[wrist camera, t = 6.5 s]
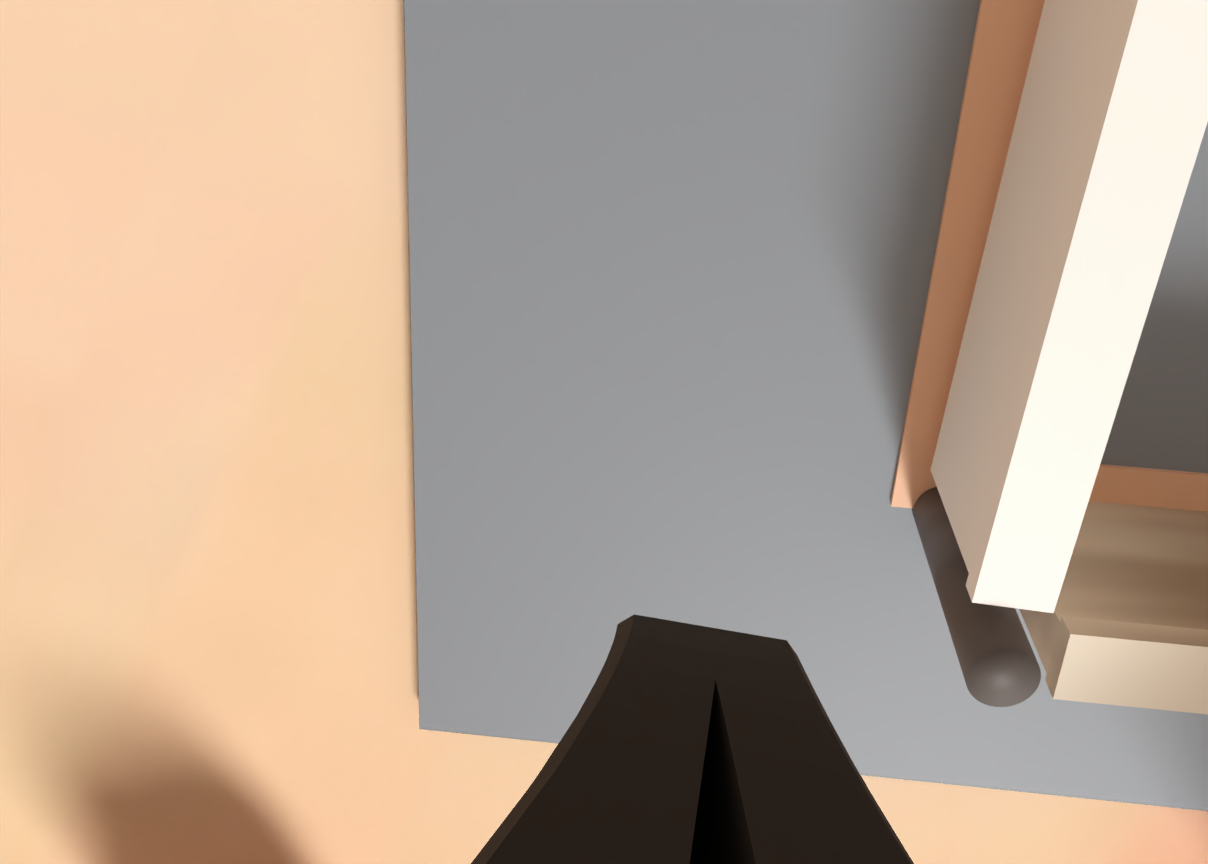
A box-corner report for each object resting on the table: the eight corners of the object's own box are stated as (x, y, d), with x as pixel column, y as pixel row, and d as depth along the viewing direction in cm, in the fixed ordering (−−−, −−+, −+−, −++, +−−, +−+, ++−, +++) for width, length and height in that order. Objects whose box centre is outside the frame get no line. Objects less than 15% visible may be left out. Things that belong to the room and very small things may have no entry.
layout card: (1608, -138, 14) (1636, -139, 14) (1252, 800, 20) (1264, 820, 20) (407, -200, 15) (398, -204, 15) (424, 714, 21) (418, 732, 21)
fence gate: (990, 477, 17) (1053, 612, 14) (923, 469, 17) (972, 602, 14) (1128, -37, 14) (1252, -20, 11) (1047, -46, 14) (1147, -32, 11)
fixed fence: (1385, 515, 17) (1581, 695, 13) (1362, 576, 18) (1544, 768, 14) (918, 474, 18) (974, 637, 14) (906, 535, 18) (958, 709, 14)
